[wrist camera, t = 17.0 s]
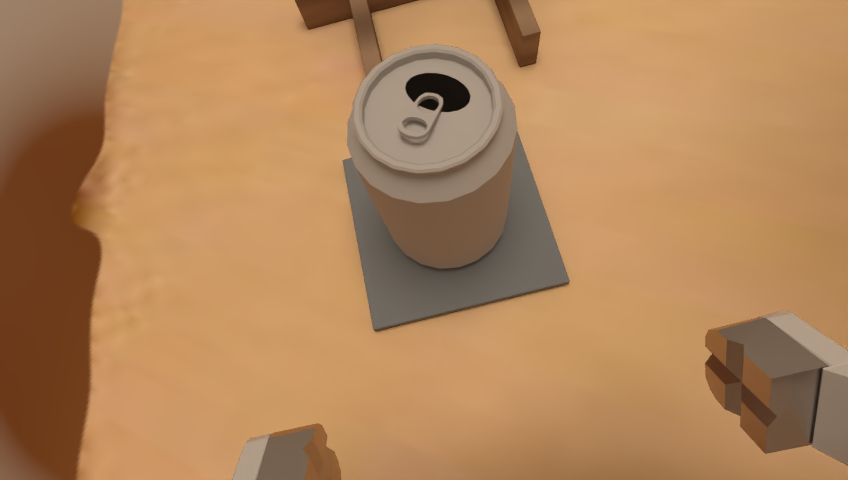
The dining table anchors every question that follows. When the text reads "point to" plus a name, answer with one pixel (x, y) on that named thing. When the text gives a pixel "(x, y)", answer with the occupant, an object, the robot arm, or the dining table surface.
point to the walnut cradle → (334, 3)
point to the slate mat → (463, 286)
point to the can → (436, 152)
